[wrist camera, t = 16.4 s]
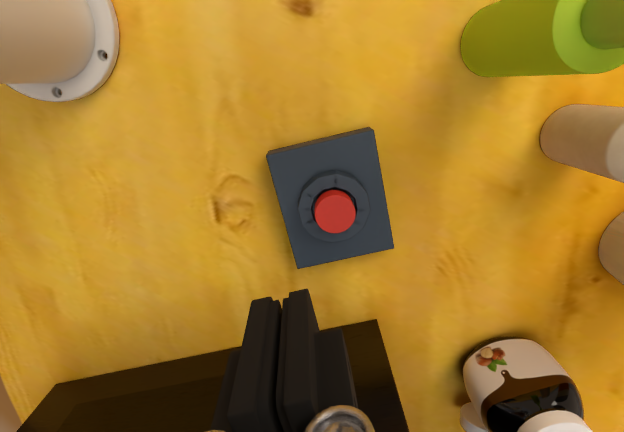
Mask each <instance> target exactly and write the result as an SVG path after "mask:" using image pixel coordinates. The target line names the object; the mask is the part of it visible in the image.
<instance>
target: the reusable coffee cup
mask: <svg viewBox="0 0 624 432" xmlns="http://www.w3.org/2000/svg"><path fill="white" fill-rule="evenodd" d="M599 258H600V262H601V264H602V265H603V267H604V268H605V269H606V270H607V271H608V272H609V273H610V274H611V275H613V276H614V277H615V278H616V279H617V280H618V281H620V282H621V283H622V284H623V285H624V212H623V213H621V214H620V215H619V216H617V217H616V218H615V219H614V220H613V221H612V222H611V223H610V224H609V226H608V227H607V228H606V230H605V232H604V233H603V235H602V238H601V240H600V244H599Z"/></svg>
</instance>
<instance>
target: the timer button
mask: <svg viewBox="0 0 624 432" xmlns="http://www.w3.org/2000/svg"><path fill="white" fill-rule="evenodd" d="M355 215H356V212H355V207H354V205H353V202H352V200H351V198H350V197H349V196H348V195H347V194H346V193H345V192H343V191H340V190H329V191H326V192H324V193H323V194H321V195H320V196H319V198H318V199H317V201H316V203H315V219H316V222H317V224H318V225H319V227H320V228H321V229H323V230H324V231H326V232H329V233H340V232H343V231H345V230H347V229H348V228H349V227H350V226H351V225H352V224H353V222H354V220H355Z"/></svg>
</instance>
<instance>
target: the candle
mask: <svg viewBox="0 0 624 432" xmlns="http://www.w3.org/2000/svg"><path fill="white" fill-rule="evenodd" d="M540 145H541V148H542V150H543V152H544V153H545V155H546V156H548V157H549V158H550V159H552V160H554V161H557V162H560V163H563V164H566V165H569V166H572V167H575V168H578V169H582V170H585V171H588V172H591V173H594V174H597V175H601V176H604V177H607V178H610V179H613V180H616V181H620V182H623V183H624V107H612V106H599V105H586V104H573V105H568V106H565V107H562V108H560V109H558V110H557V111H555V112H554V113H553V114H552V115H551V116H550V117H549V118H548V119H547V120H546V122H545V124H544V125H543V128H542V130H541V134H540Z"/></svg>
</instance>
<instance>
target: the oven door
mask: <svg viewBox="0 0 624 432" xmlns="http://www.w3.org/2000/svg"><path fill="white" fill-rule="evenodd" d="M338 328H341V329H342V332H343V336H344V340H345V344H346V348H347V353H348V357H349V362H350V366H351V371H352V376H353V382H354V388H355V393H356V399H357V405H358V409H360V410H361V411H362V412H363V413H364V414H366V415H367V417H368V418H369V420H370V422H371V423H372V425H373V428H374V430H375V432H409V429H408V426H407V422H406V419H405V415H404V412H403V409H402V405H401V402H400V398H399V395H398V391H397V388H396V384H395V381H394V377H393V374H392V371H391V367H390V364H389V360H388V357H387V353H386V350H385V346H384V343H383V339H382V336H381V333H380V329H379V326H378V322H377V320H376V319H375V320H370V321H365V322H360V323H356V324H351V325H346V326H341V327H336V328H331V329H326V330H321V331H320V332H324V331H328V330H333V329H338ZM241 348H242V347H237V348H232V349H227V350H222V351H218V352H213V353H208V354H203V355H198V356H193V357H188V358H183V359H178V360H173V361H168V362H163V363H158V364H153V365H148V366H144V367H139V368H134V369H129V370H124V371H119V372H114V373H109V374H104V375H99V376H94V377H89V378H84V379H79V380H75V381H70V382H65V383H60V384H56V385H55V386H54V387H53V388H52V389H51V391H50V392H49V393H48V394H47V395H46V397H45V398H44V399H43V400H42V401H41V403H40V404H39V405H38V406H37V408H36V409H35V410H34V411H33V412H32V414H31V415H30V416H29V417H28V418H27V420H26V421H25V422H24V423H23V424H22V426H21V427H20V428H19V429H18V430H17V432H206V431H210V428H211V424H212V421H213V417H214V413H215V409H216V405H217V401H218V397H219V393H220V389H221V385H222V381H223V377H224V374H225V370H226V366H227V362H228V358H229V355H230V352H231V351H233V350H237V349H241Z"/></svg>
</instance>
